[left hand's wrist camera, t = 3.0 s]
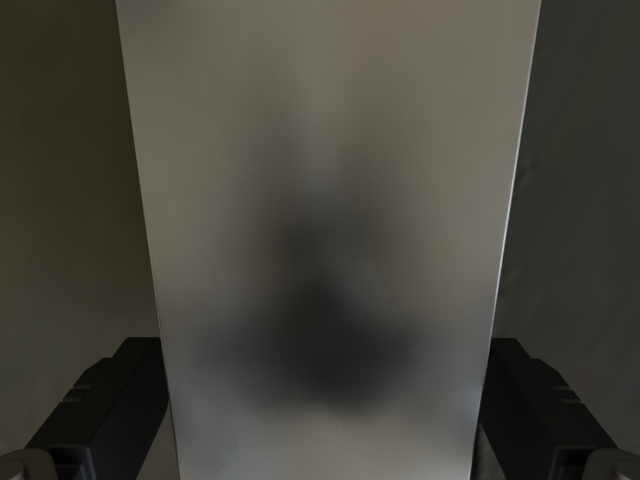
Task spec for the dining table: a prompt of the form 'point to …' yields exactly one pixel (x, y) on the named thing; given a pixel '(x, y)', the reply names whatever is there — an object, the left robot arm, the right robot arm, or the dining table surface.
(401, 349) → the bar
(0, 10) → the dining table surface
